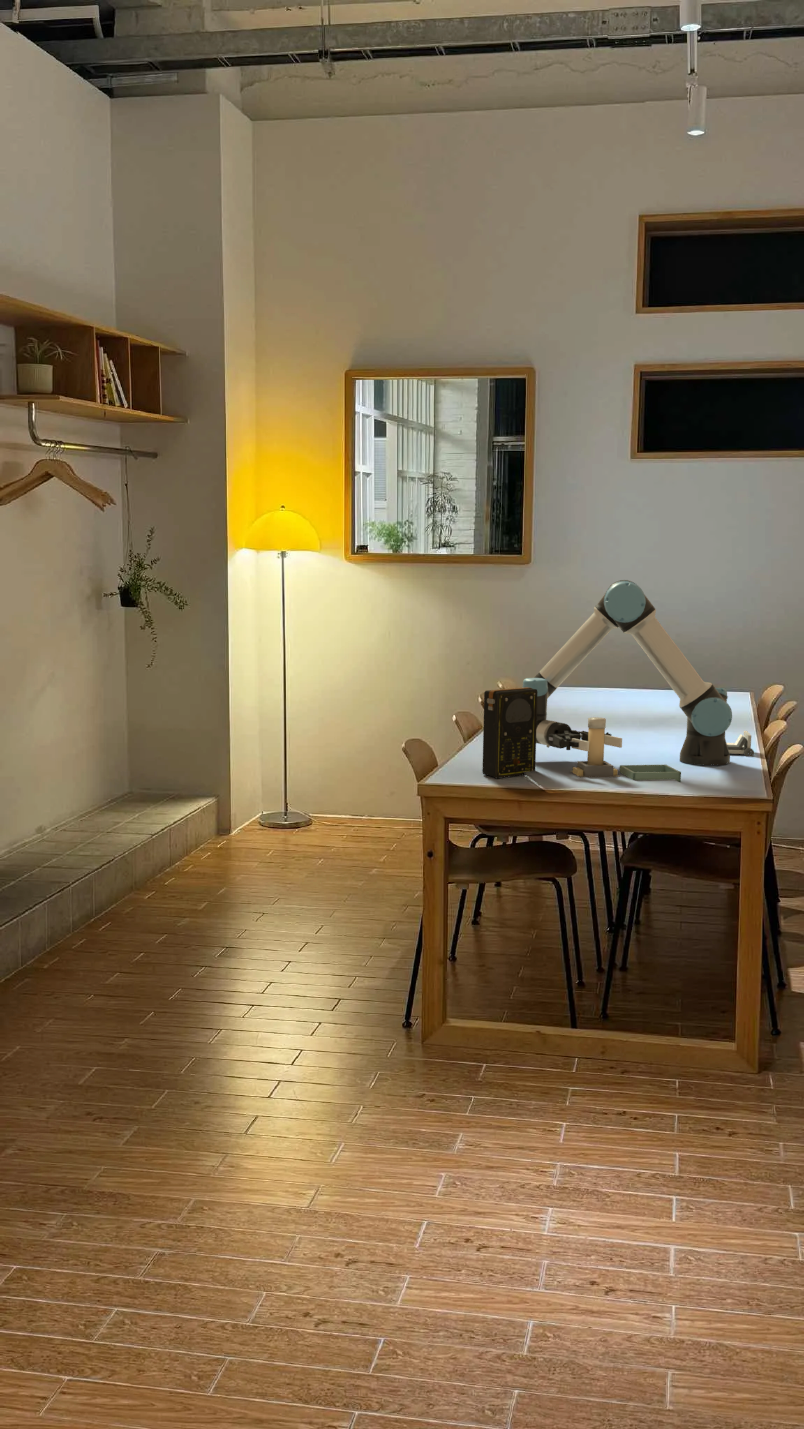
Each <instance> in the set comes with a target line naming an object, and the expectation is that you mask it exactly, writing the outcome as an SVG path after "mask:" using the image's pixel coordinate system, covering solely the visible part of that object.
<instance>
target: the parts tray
mask: <svg viewBox="0 0 804 1429" xmlns="http://www.w3.org/2000/svg"><path fill="white" fill-rule="evenodd" d="M619 773H620V774H622V775H623V776H625V777H627V778H628V779H630V780H633V781H650V780H651V781H652V780H653V781H656V780H658V781H659V780H663V781H664V780H665V781H666V780H675V781H677V782H678V783H682V782H681V781H682V771H680V770H678V769H677V768H674V767H672V766H669V765H667V764H630V765H629V764H621V765H619Z"/></svg>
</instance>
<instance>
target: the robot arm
mask: <svg viewBox="0 0 804 1429" xmlns="http://www.w3.org/2000/svg"><path fill="white" fill-rule="evenodd" d="M656 611H657V609H656V608H655V606H654V605H653V604H652V602H651V601H650V600H649V598H648V597H647V596H646V594H645V593H644V591H643V589H642V588H641V587H640V586H639V585H638V584H637V583H636V582H633V581H631V580H628V579H621V580H618V581H615V582H613V583H611V585H610V586H609V587H608V588H607V589H606V591H605V593H604V594H603V596H602V597H601V599H600V600H599V601H598V602H597V604H596V605H595V606H594V607H593V613H592V614H591V615H590V616H589V617H588V618H587V619H586V620H585V622H584V623H583V624H582V625H581V626H580V627H579V628H578V629H577V630H576V631H575V633H574V634H573V635H572V636H570V638H569V639H568V640H567V641H566V642H565V644H563V645H562V647H561V648H560V649H559V650H558V651H557V652H556V653H555V654H554V655H553V656H552V657H551V658H550V660H549V661H548V662H547V663H546V664H545V665H544V666H543V667H542V668H541V669H540V670H539V672H538V673H537V674H536V675H535V676H534V677H526V678H524V679H523V681H522V687H521V688H525V687H529V688H532V689H537V692H538V693H537V728H536V744H540V745H544V746H546V748H550V747H553V748H557V749H565V748H566V751H571V749H574V750H580V751H584V752H588V751H589V741H588V731H586V730H581V731H580V730H579V731H578V730H574V729H572V727H571V726H570V725H568V724H567V723H563V722H559V721H555V720H549V719H548V718H547V717H548V716H547V715H548V713H547V712H548V699H549V698H550V697H551V695H552V694H553V693H554V692H555V691H556V690H557V689H558V688H559V687H560V685H561V684H563V682H564V681H566V679H567V678H568V677H569V676H570V675H571V674H572V673H573V671H574V670H576V668H578V667H579V665H580V664H581V663H582V662H583V661H584V660H585V659H586V658H587V656H589V654H590V653H592V651H593V650H594V649H595V648H596V647H597V646H599V644H600V643H601V642H602V641H603V639H605V637H606V636H607V635H608V634H609V633H610V632H611V631H612V630H614V629H618V628H620V630H621V631H622V633H623V634H626V635H631V637H633V639H634V640H635V641H636V643H637V644H638V645H639V647H641V649H642V650H643V652H644V653H645V654H646V656H647V657H648V659H649V660H650V661H651V663H652V664H653V665H654V667H655V668H656V669H657V670H658V672H659V673H660V674H661V676H662V677H663V678H664V680H665V681H666V682H667V684H668V685H669V686H670V688H671V689H672V691H673V692H674V693H675V695H677V697H678V698H679V704H678V707H679V708H680V709H681V711H682V712H683V714H685V716H686V734H685V735H686V736H685V739H684V741H683V743H682V747H681V749H680V752H679V761H680V762H681V763H684V764H689V765H697V766H724V765H729V764H730V763H731V762H730V761H731V755H730V754H731V753H729V750H728V747H727V743H728V742H727V740H726V731H727V730H728V729H729V727H730V726H731V723H732V721H733V720H732V719H733V711H732V708H731V706H730V705H729V703H728V698H729V696H728V691H727V689H726V688H722V687H715V686H714V685H713V683H712V682H708V681H704V680H703V679H702V677H701V675H700V674H698V672H697V671H696V669H695V667H694V666H693V665H692V664H691V662H690V661H689V660H688V659H687V658H686V656H685V655H684V653H683V652H682V650H681V649H680V648H679V647H678V645H677V644H676V643H675V642H674V640H673V639H672V638H671V636H670V635H669V633H667V631H666V630H665V628H664V627H663V626H662V624H661V623H660V621H659V620H658V619H657V618H656ZM605 745H606V746H611V747H616V748H622V747H623V738H622V737H619V736H614V735H612V734H611V733H609V732H606V733H605V737H604V746H605Z"/></svg>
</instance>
